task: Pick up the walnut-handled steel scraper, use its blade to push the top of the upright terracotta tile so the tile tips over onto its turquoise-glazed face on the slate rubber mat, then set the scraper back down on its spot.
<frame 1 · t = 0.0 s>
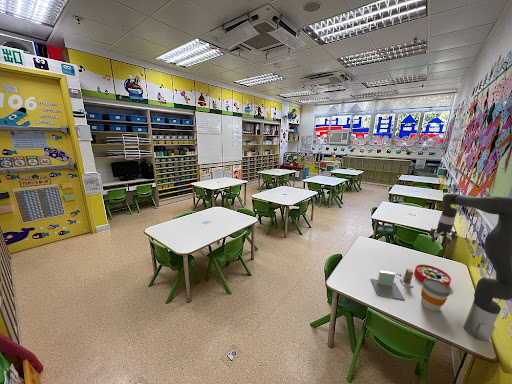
hand: (439, 242, 145), 29 cm above the table, fingers open, 8 cm apart
toy clock: (430, 279, 151), on the table
scraper: (406, 283, 146), on the table
reusable coffee cup: (429, 305, 128), on the table
mat: (386, 289, 141), on the table
tile: (386, 278, 143), point 6 cm above the table, touching mat
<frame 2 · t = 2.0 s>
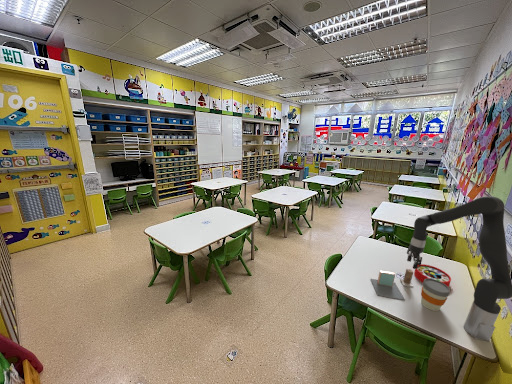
hand: (411, 264, 142), 16 cm above the table, fingers open, 8 cm apart
nothing on the table moved.
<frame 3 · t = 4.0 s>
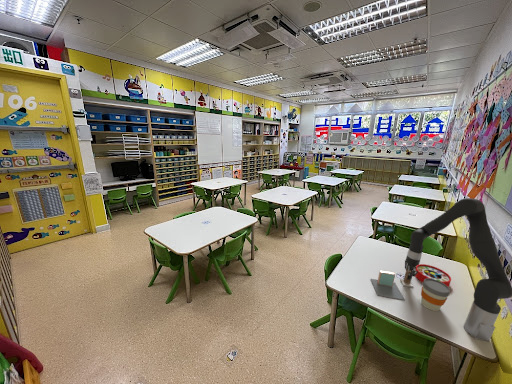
hand: (408, 277, 145), 5 cm above the table, fingers closed on scraper, 3 cm apart
scraper: (406, 283, 146), on the table, touching gripper
everything else where it was.
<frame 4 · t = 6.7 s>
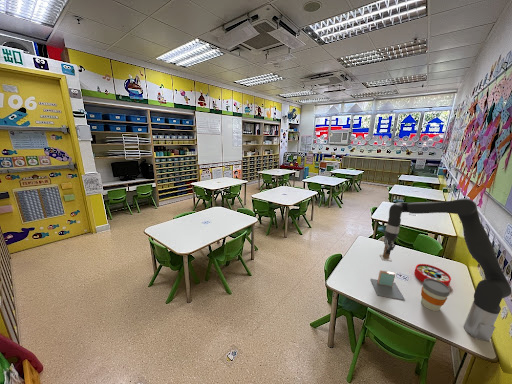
hand: (386, 252, 146), 21 cm above the table, fingers closed on scraper, 3 cm apart
scraper: (385, 258, 147), point 16 cm above the table, touching gripper
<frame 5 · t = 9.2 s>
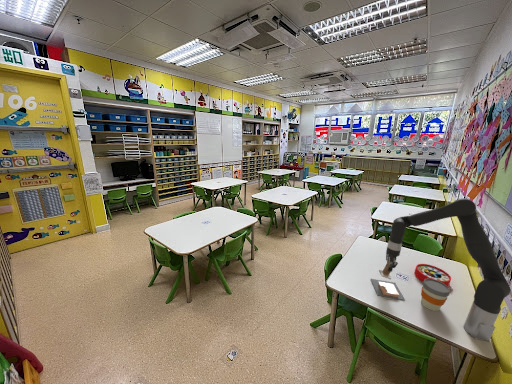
hand: (388, 269, 140), 13 cm above the table, fingers closed on scraper, 3 cm apart
scraper: (384, 275, 142), point 9 cm above the table, tilted 13°, touching gripper
tile: (388, 289, 138), point 2 cm above the table, tilted 90°, touching mat
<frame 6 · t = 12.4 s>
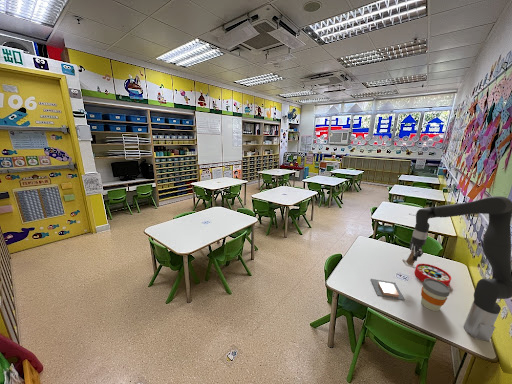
hand: (413, 258, 141), 20 cm above the table, fingers closed on scraper, 3 cm apart
scraper: (408, 264, 142), point 16 cm above the table, tilted 13°, touching gripper
when the fingers open (7 cm above the table, at t = 15.0 s): scraper drops 2 cm, on the table.
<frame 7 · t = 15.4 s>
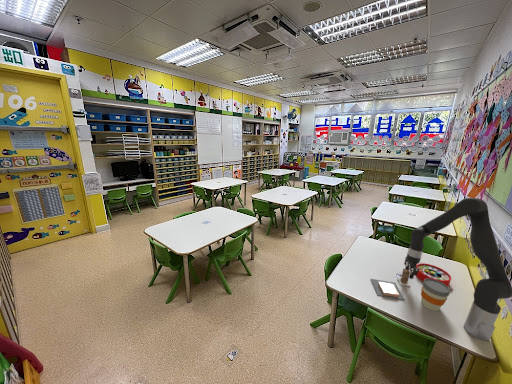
hand: (408, 275, 144), 7 cm above the table, fingers open, 6 cm apart
scraper: (403, 283, 147), on the table
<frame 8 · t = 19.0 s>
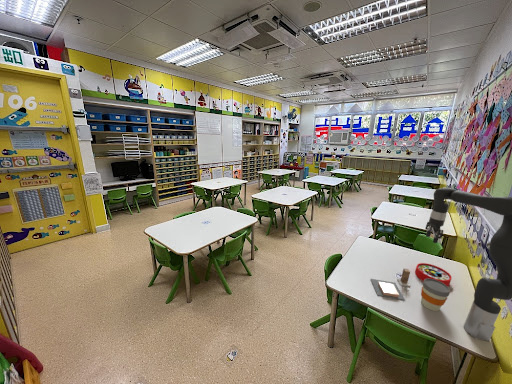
hand: (431, 239, 139), 34 cm above the table, fingers open, 8 cm apart
at the end: tile inside the target area (0.2 cm from its centre), point 1.9 cm above the table; tile tilted 90°; scraper inside the target area (1.9 cm from its centre), on the table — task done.
